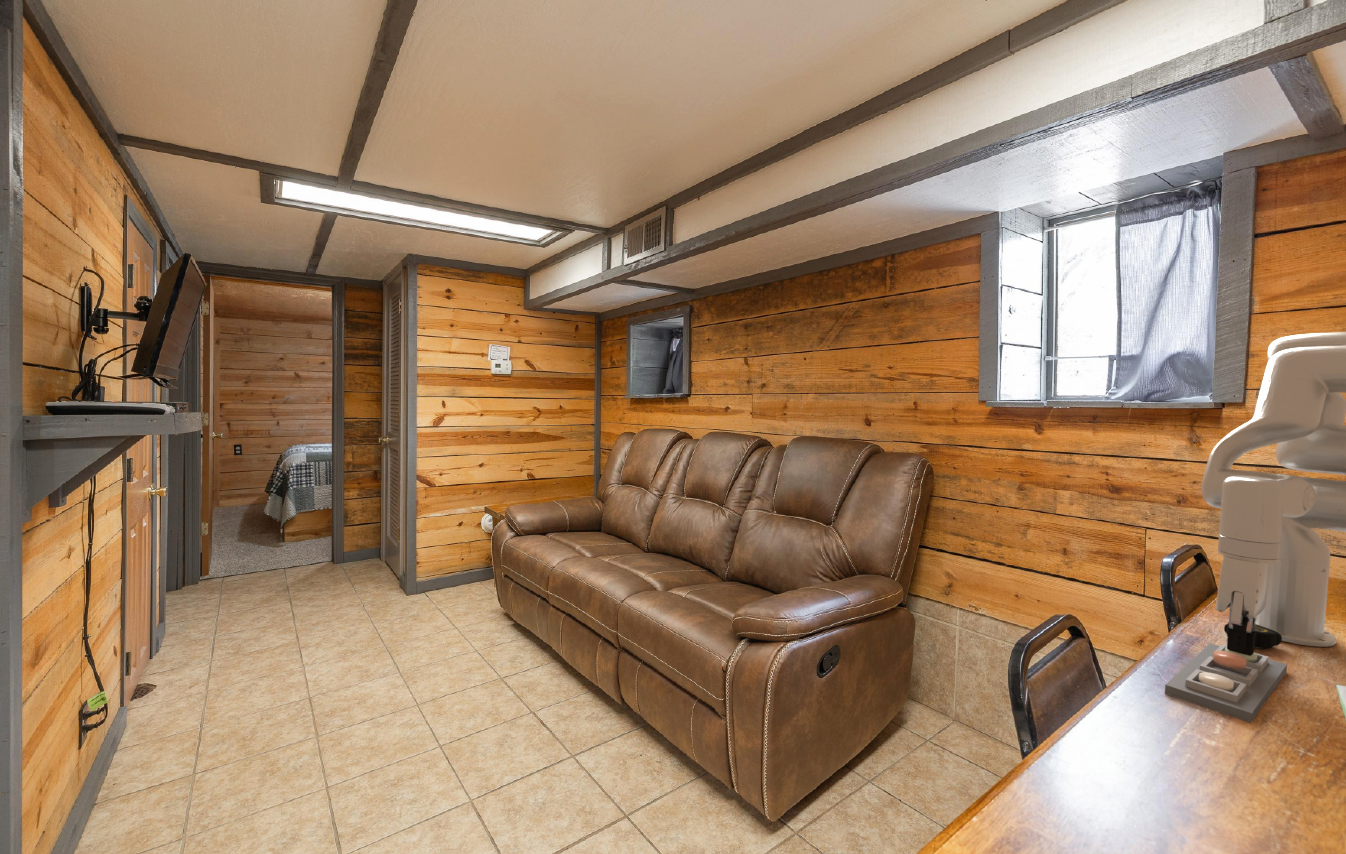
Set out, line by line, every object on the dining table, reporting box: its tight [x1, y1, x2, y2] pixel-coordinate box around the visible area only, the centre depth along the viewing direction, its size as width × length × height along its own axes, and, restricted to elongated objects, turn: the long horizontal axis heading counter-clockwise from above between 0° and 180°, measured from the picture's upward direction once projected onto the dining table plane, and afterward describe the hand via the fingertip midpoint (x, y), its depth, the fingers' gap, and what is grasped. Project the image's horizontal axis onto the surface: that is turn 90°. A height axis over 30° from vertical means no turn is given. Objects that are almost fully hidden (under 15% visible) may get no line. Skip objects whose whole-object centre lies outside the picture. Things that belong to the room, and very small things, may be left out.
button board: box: [1164, 642, 1288, 724], centre depth 97 cm, size 26×10×3 cm, turn 125°
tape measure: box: [1223, 621, 1283, 650], centre depth 111 cm, size 7×7×4 cm
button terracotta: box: [1213, 651, 1247, 669], centre depth 96 cm, size 4×4×1 cm
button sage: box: [1225, 647, 1258, 663], centre depth 101 cm, size 4×4×1 cm
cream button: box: [1199, 672, 1234, 692], centre depth 92 cm, size 4×4×1 cm
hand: (1240, 651), depth 101 cm, fingers closed
